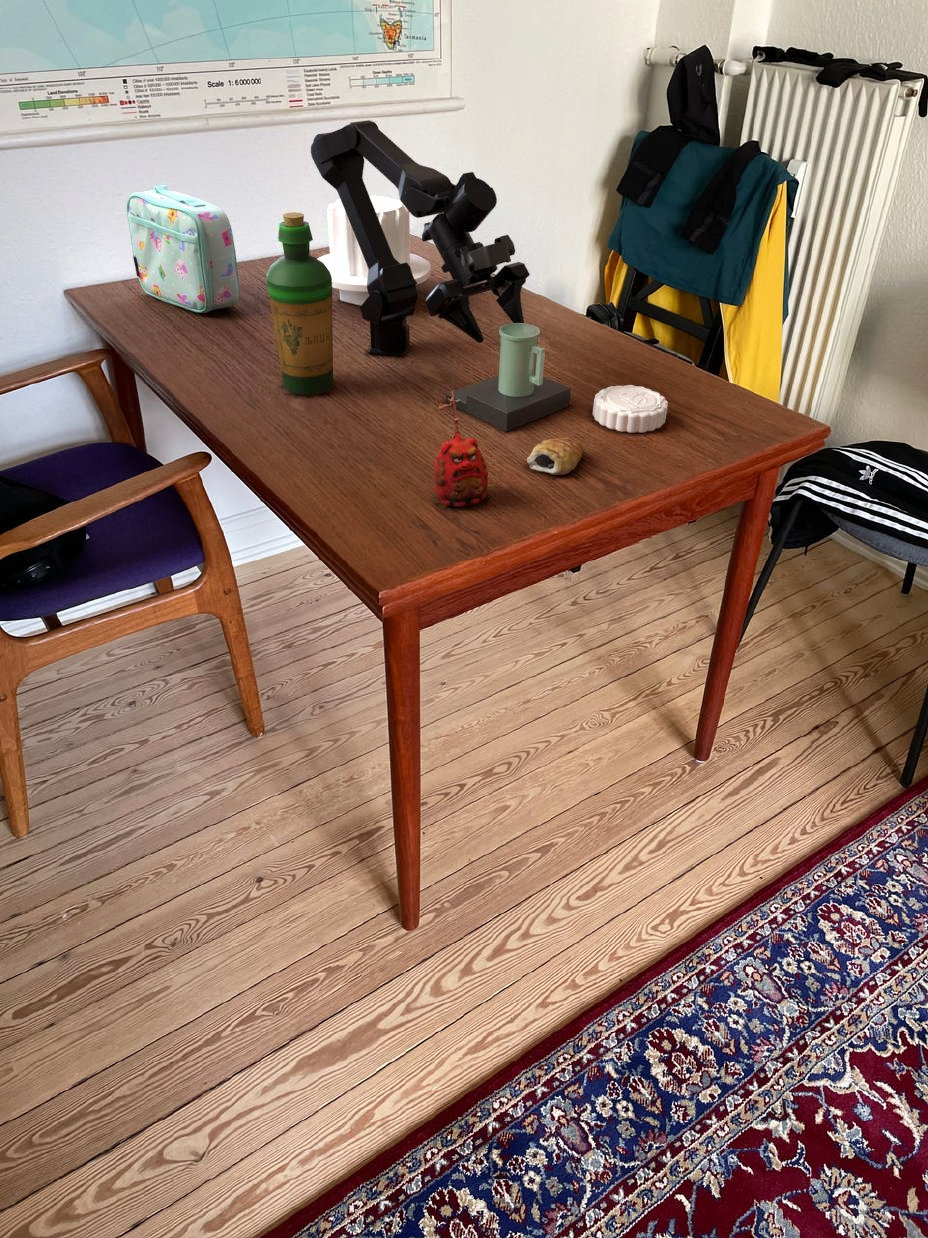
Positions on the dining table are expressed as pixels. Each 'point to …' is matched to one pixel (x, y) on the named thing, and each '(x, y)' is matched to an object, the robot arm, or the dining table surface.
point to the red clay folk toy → (460, 468)
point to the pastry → (555, 456)
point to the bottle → (301, 310)
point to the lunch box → (183, 250)
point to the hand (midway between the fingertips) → (502, 334)
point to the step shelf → (510, 402)
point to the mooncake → (630, 408)
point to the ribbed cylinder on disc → (348, 256)
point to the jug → (520, 359)
